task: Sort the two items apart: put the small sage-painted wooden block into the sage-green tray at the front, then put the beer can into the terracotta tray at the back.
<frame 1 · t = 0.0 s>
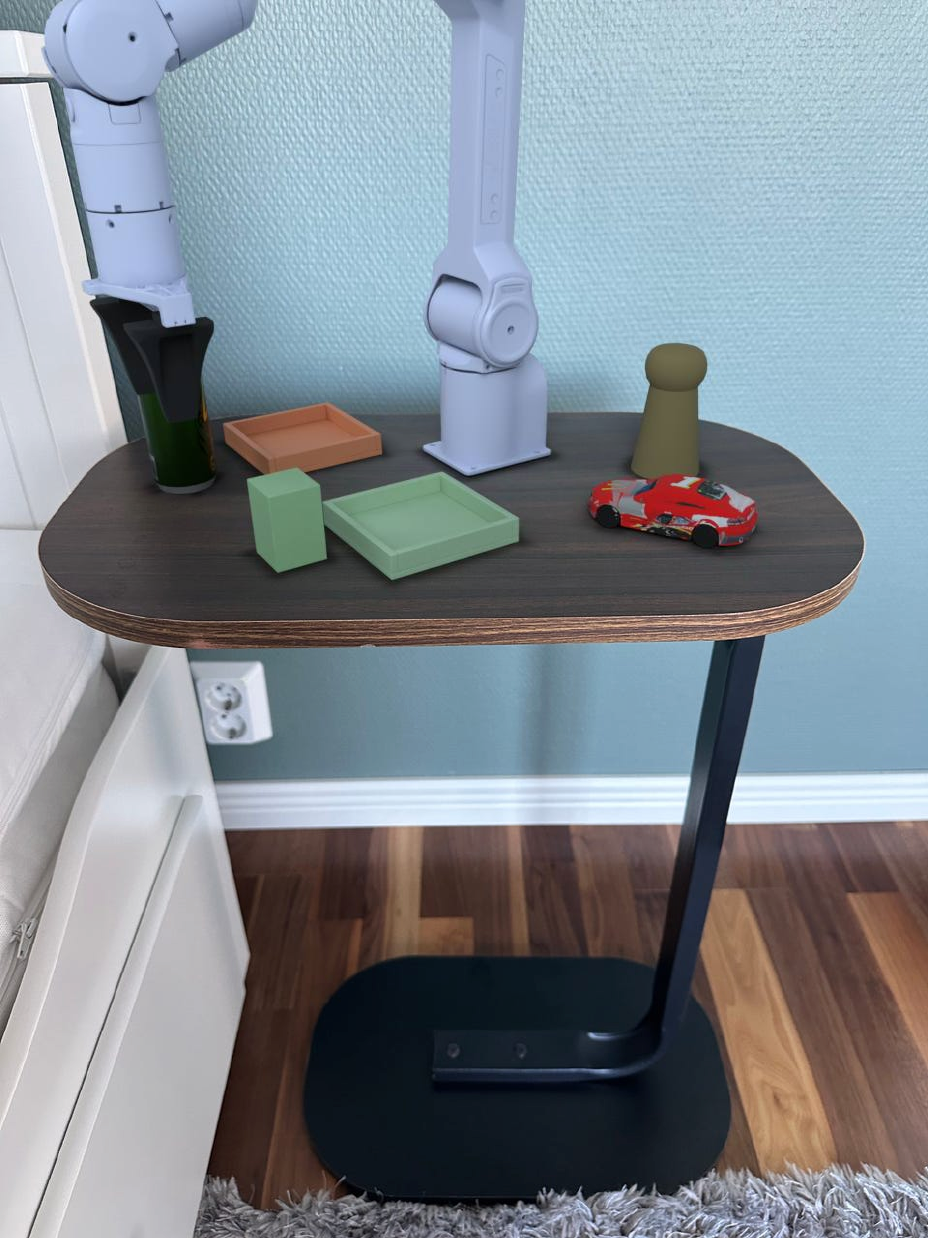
hand: (165, 405, 70), 10 cm above the table, tool pointing down, fingers open, 7 cm apart
race car: (668, 528, 75), on the table
terracotta tray: (302, 448, 90), on the table
beer can: (187, 485, 83), on the table
sage block: (291, 555, 71), on the table
olive pawn piece: (664, 470, 85), on the table
sage tray: (419, 532, 74), on the table
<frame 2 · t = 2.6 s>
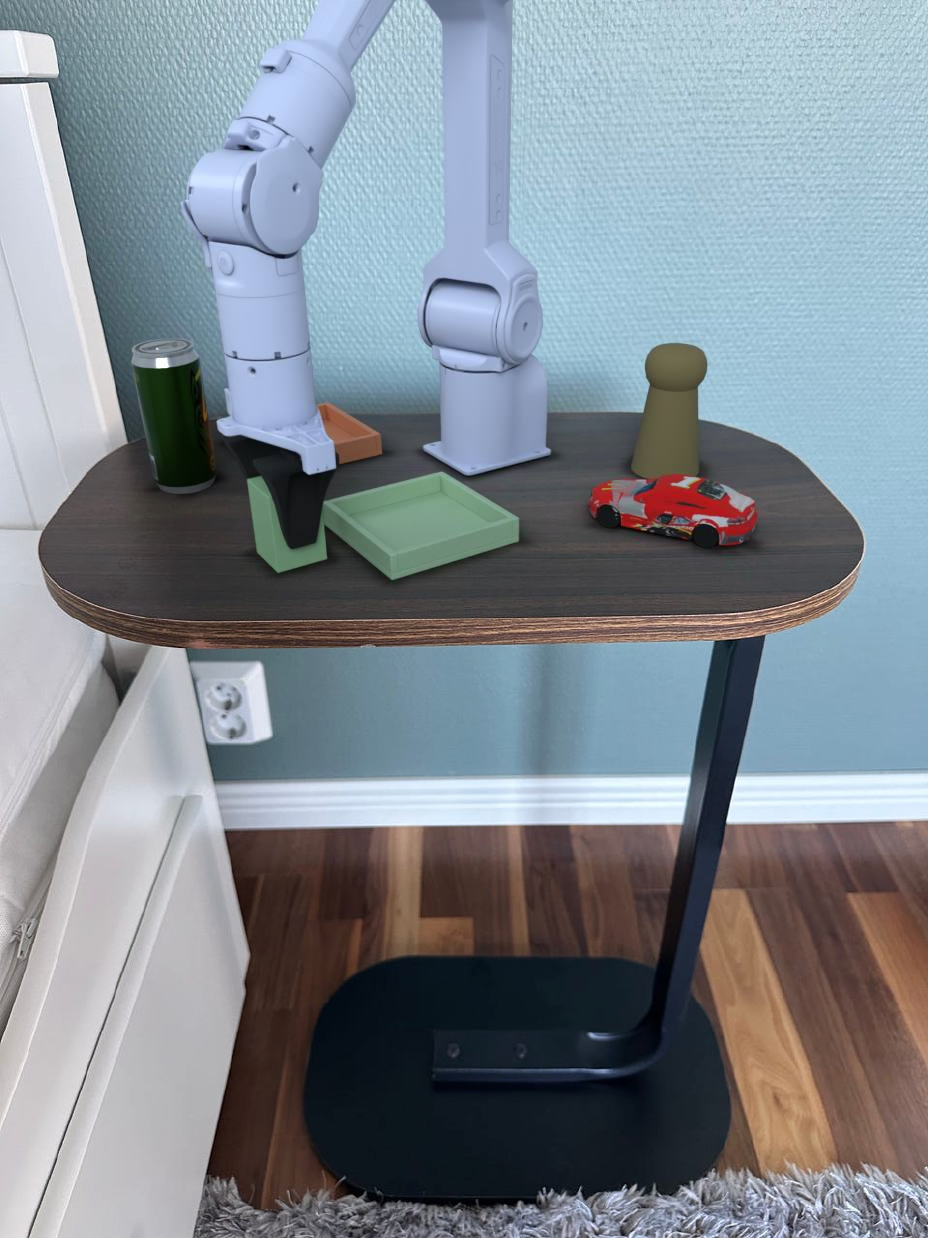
hand: (289, 532, 70), 2 cm above the table, tool pointing down, fingers closed on sage block, 4 cm apart
sage block: (291, 555, 71), on the table, touching gripper
everything else where it was.
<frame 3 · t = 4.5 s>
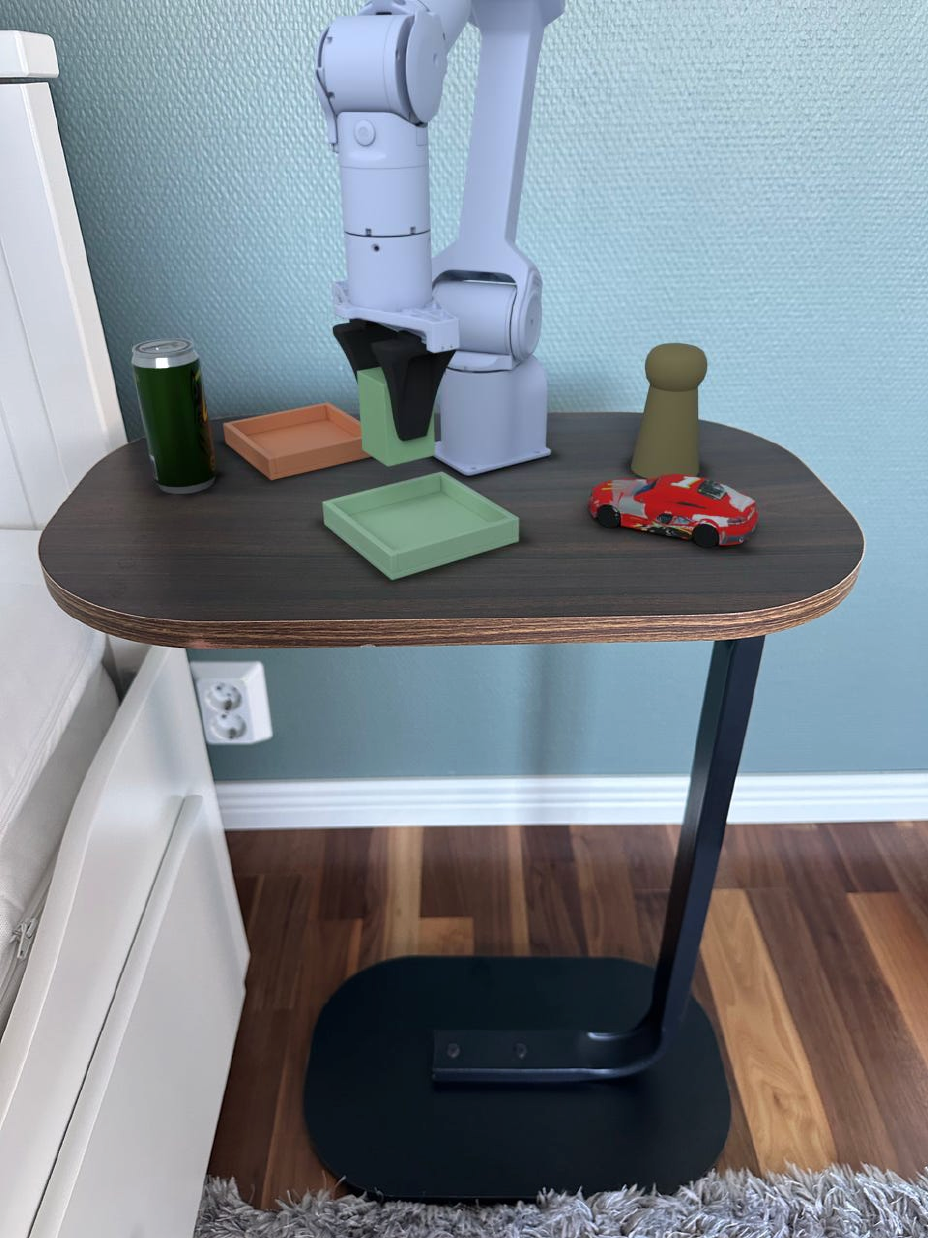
hand: (397, 428, 69), 9 cm above the table, tool pointing down, fingers closed on sage block, 4 cm apart
sage block: (398, 452, 70), point 7 cm above the table, touching gripper
everything else where it was.
when the fingers open (2 cm above the table, at t = 6.6 s): sage block stays where it is, resting on sage tray.
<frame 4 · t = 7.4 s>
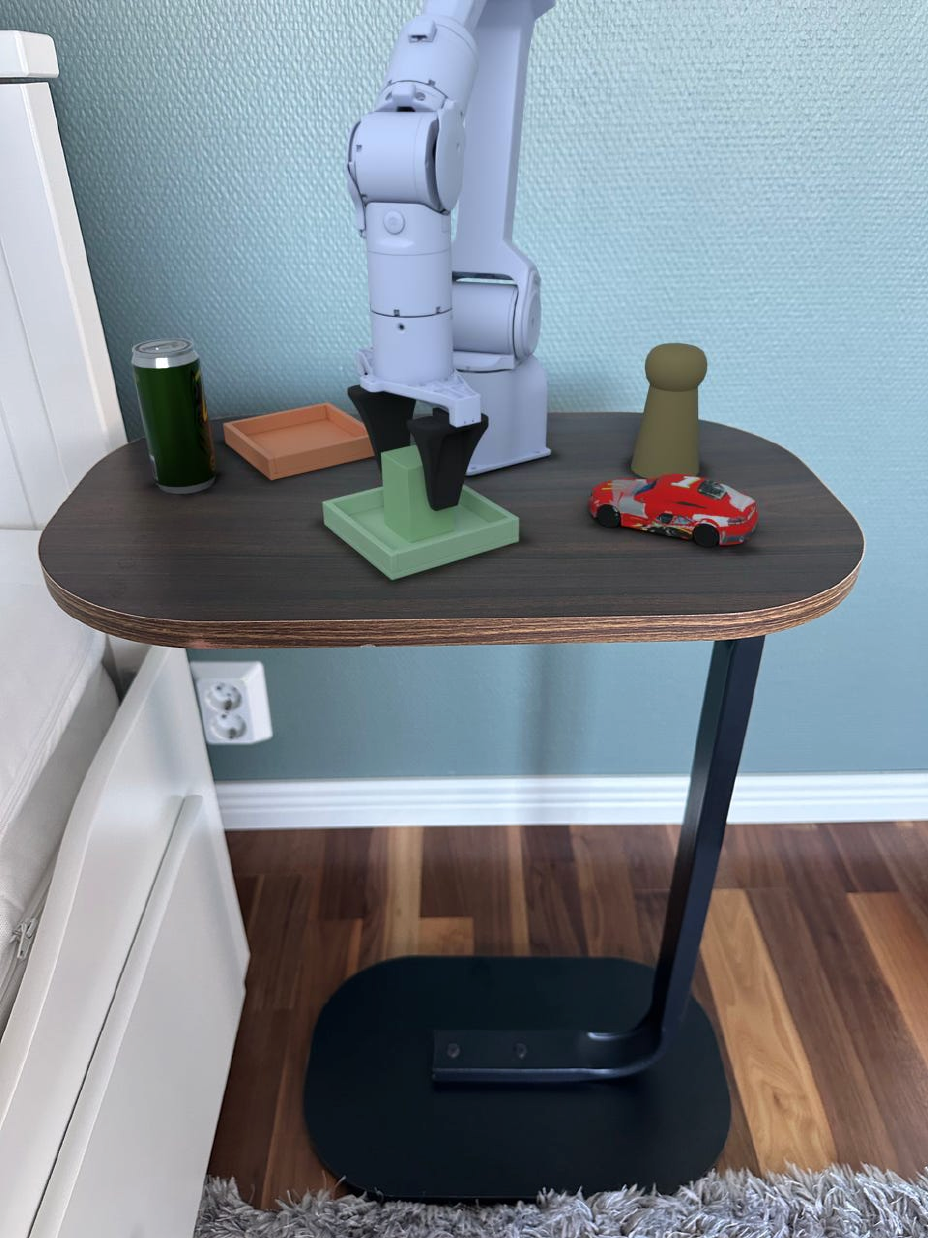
hand: (418, 489, 72), 4 cm above the table, tool pointing down, fingers open, 7 cm apart
sage block: (419, 527, 74), resting on sage tray
everything else where it was.
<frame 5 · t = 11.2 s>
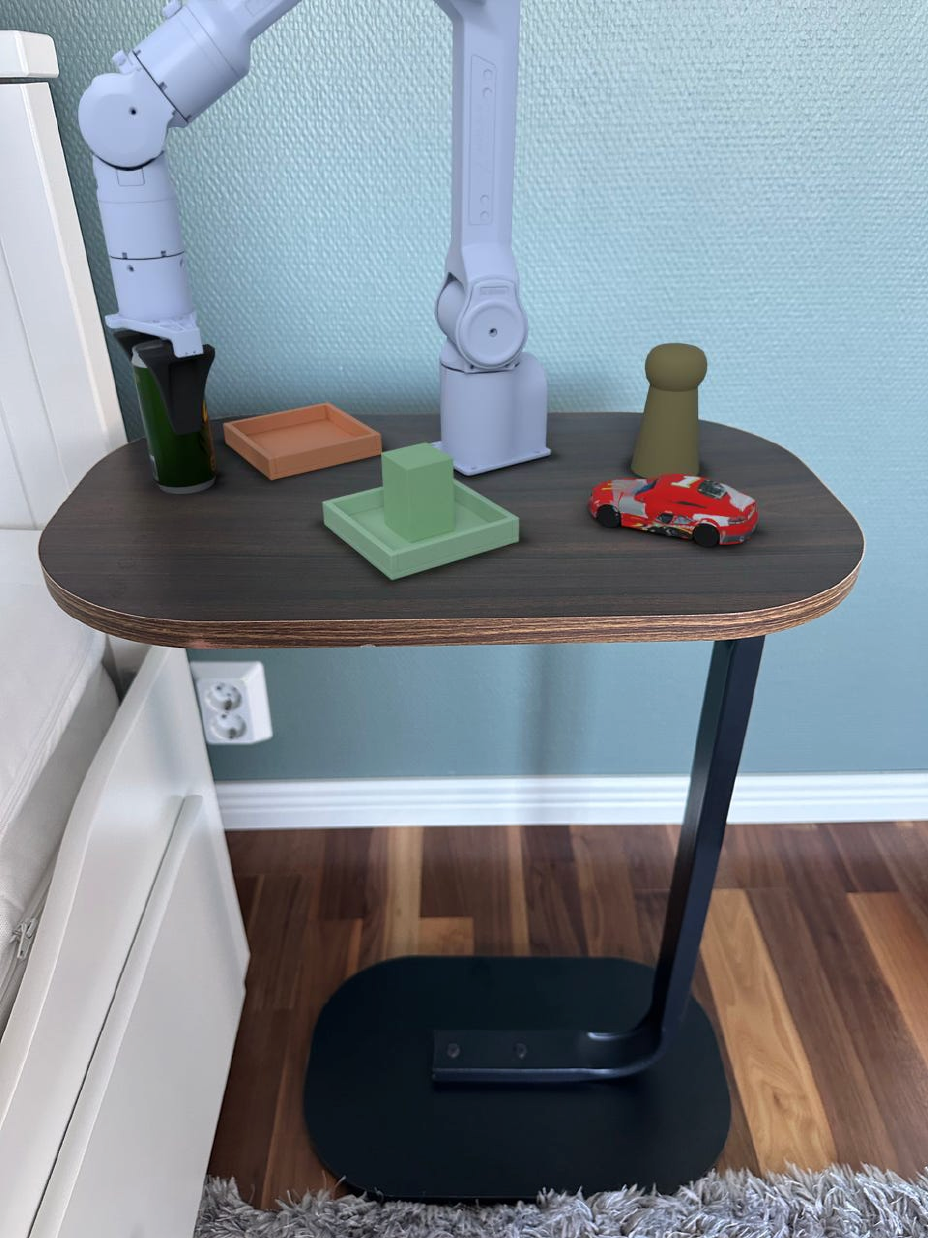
hand: (176, 421, 80), 6 cm above the table, tool pointing down, fingers closed on beer can, 5 cm apart
beer can: (187, 485, 83), on the table, touching gripper
everything else where it was.
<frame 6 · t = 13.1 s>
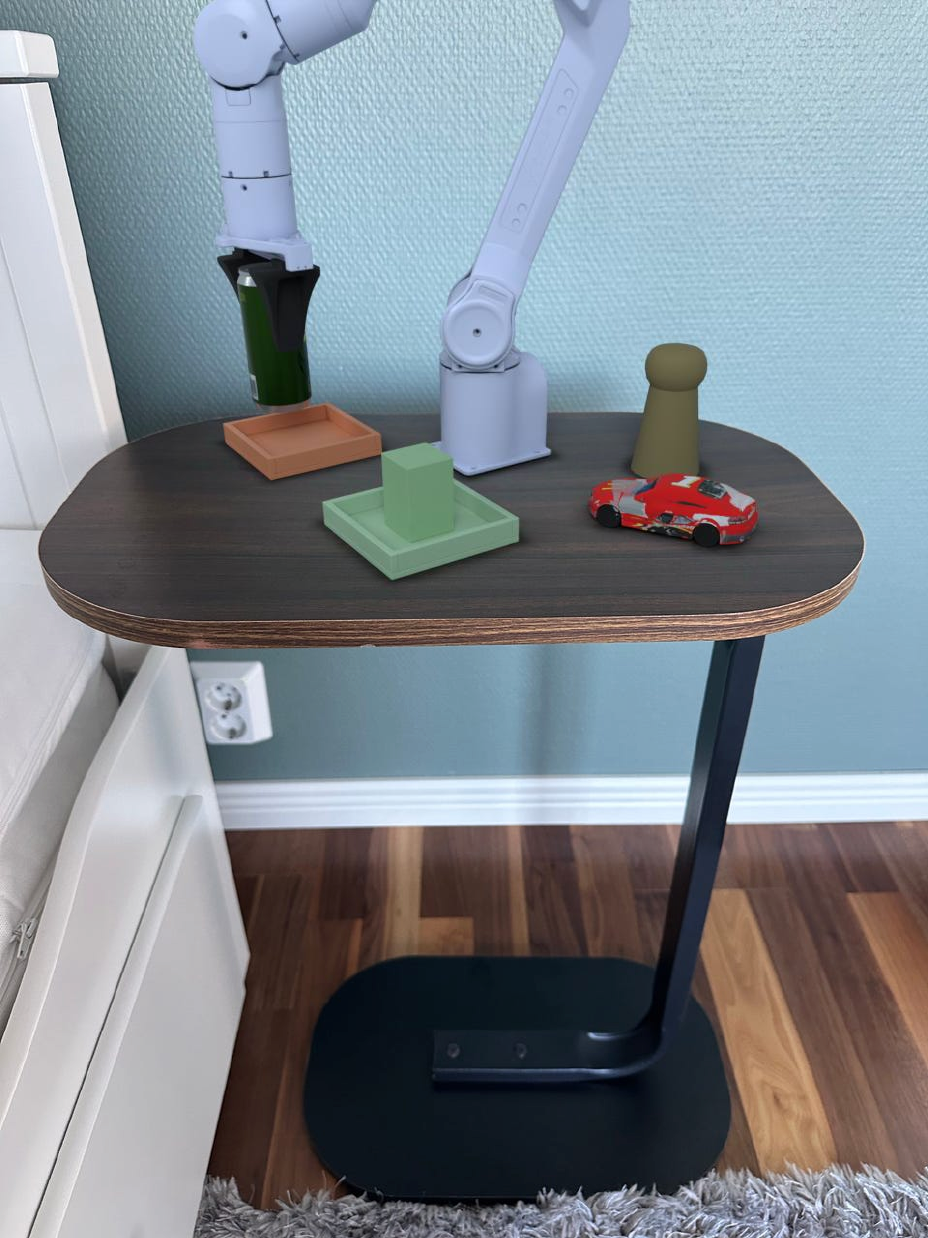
hand: (276, 343, 84), 10 cm above the table, tool pointing down, fingers closed on beer can, 5 cm apart
beer can: (283, 406, 87), point 5 cm above the table, touching gripper
everything else where it was.
when the fingers open (6 cm above the table, at t = 14.9 s): beer can stays where it is, resting on terracotta tray.
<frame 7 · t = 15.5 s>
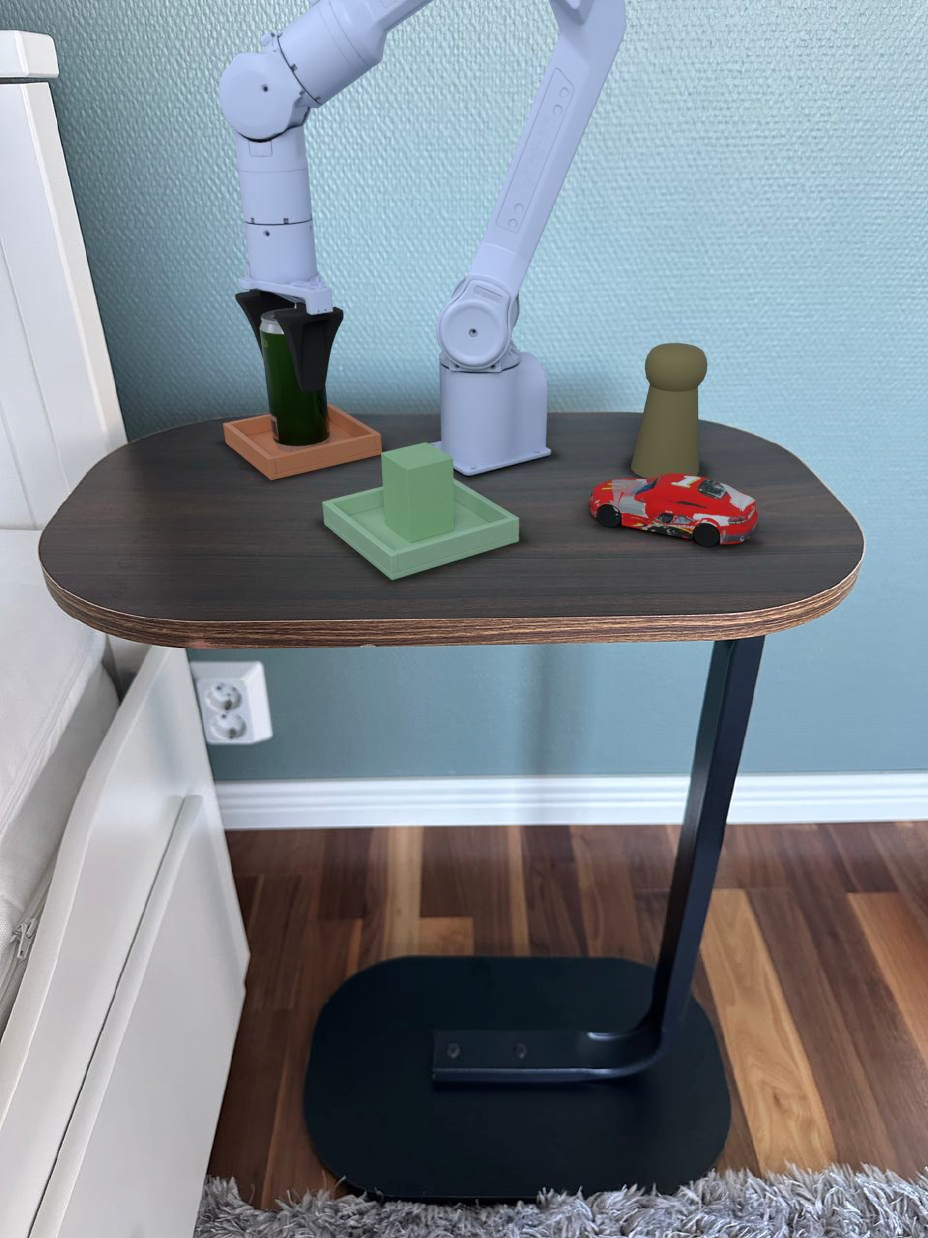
hand: (295, 379, 87), 7 cm above the table, tool pointing down, fingers open, 7 cm apart
beer can: (302, 445, 90), resting on terracotta tray
everything else where it was.
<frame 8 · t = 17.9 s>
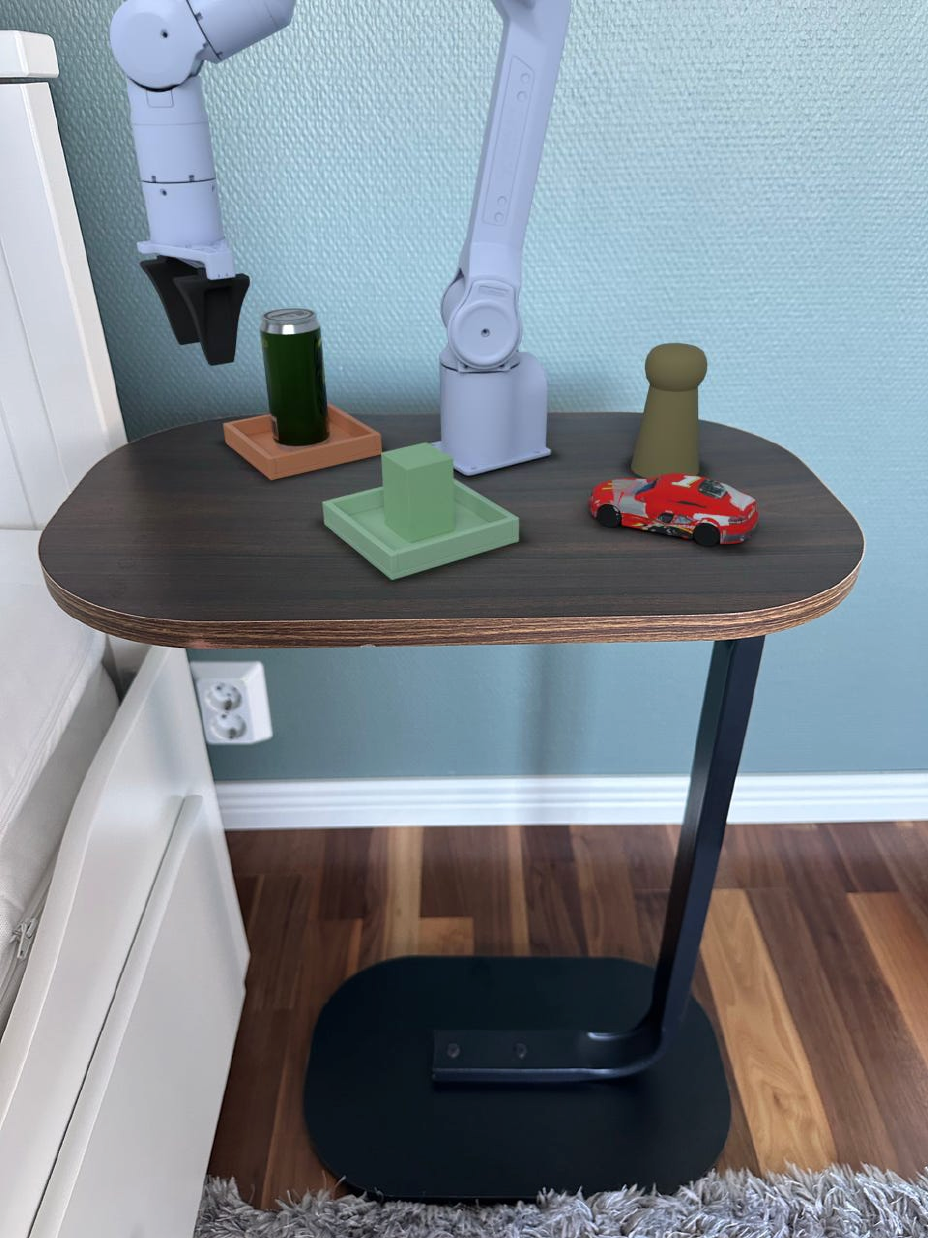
hand: (205, 352, 81), 10 cm above the table, tool pointing down, fingers open, 7 cm apart
nothing on the table moved.
at the end: sage block inside the target area in the sage tray (0.1 cm from its centre), point 0.5 cm above the sage tray's base; beer can inside the target area in the terracotta tray (0.0 cm from its centre), point 0.3 cm above the terracotta tray's base; beer can tilted 0° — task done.
